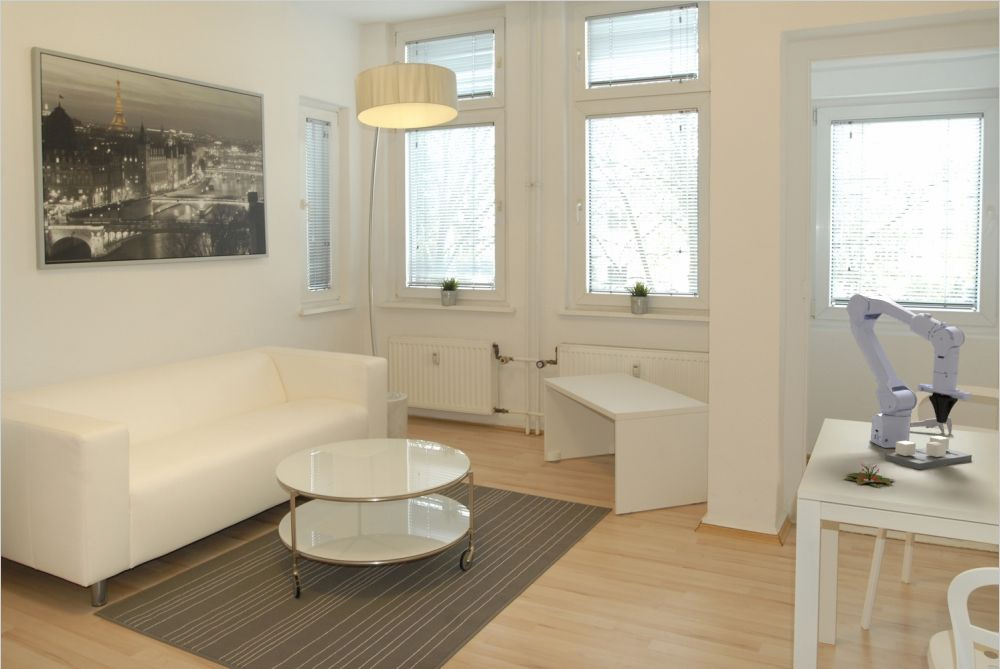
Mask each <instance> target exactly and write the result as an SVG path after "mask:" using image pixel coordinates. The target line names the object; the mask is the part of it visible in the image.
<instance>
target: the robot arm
mask: <svg viewBox="0 0 1000 669" xmlns="http://www.w3.org/2000/svg"><path fill="white" fill-rule="evenodd" d="M845 309H846V311H847V314H848V316H849V325H850V331H851V333H852V336H853V337H854V339H855V341H856V343H857V345H858V347H859V350H860V351H861V353H862V355H863V357H864V359H865V361H866V363H867V365H868V367H869V370H870V371H871V373H872V375H873V377H874V379H875V381H876V383H877V387H876V389H875V395H876V396H877V404H878V407H879V409H880V410H881V413H876V414H874V415H873V416H872V420H871V428H870V429H871V431H870V439H869V440H868V441H869V442H871V443H873V444H875V445H877V446H879V447H881V448H884V449H885V448H886V449H887V448H888V449H891V448H895V449H896V442H899V441H909V442H910V433H911V427H910V422H912V421H911V420H912V419H911V418H912V411H913V409H915V408H916V406H917V405H918V397H917V394H916V393H915V392H914V390H912V389H911V388H909V385H908V384H907V382H906V381H904V380H903V379H901V378H900V377H898V375H897V373H896V370H895V369H894V367H893V366H892V363H891V361H890V359H889V357H888V356H887V353H886V352H885V350H884V348H883V345H882V344H881V342H880V340H879V338H878V336H877V334H876V332H875V330H874V327H875V323H877V321H878V320H879V318H880V317H881V316H882V315H883V314H885V315H887V316H889V317H892V318H894V319H895V320H898V321H899V322H902V323H904V324H906V325H908V326H909V330H910V331H911V332H912V333H914V334H916V335H918V336H919V337H921V338H924V339H925V340H927V341H928V342H931V345H932V346H933V347H934V348H933V349H934V351H933V352H934V359H933V372H932V382H931V384H927V383H918V384H917V391H918V392H925V393H929V394H931V395H929V396H928V400H929V401H930V403H931V405H932V407H933V410H934V415H935V418H936V420H937V422H939V423H946V421H947V418H948V417H950V416H949V415H950V414H951V410H952V409H953V408H954V406H955V404H956V403H957V402H958V400H962V401H965V402H969V401H972V393H971V392H967V391H964V390H961V389H959V388H958V386H957V385H958V371H959V362H960V361H959V358H960V349H961V348H960V347H961V346H963V345H964V343H965V341H966V336H965V333H964V331H963V330H962V329H961V328H959V327H958V326H955V325H951V326H948V323H947V322H946V321H940V320H938V319H935V318H933V317H932V316H933V315H932V313H929V312H927V313H926V312H925V313H923V312H921V313H918V314H916V313H914V312H913V311H911V310H909V309H908V308H906V307H904V306H903V305H901V304H899V303H897V302H895V301H893V300H892V299H890V297H889V296H886V295H883V294H881V293H880V292H879V293H878V292H874V293H863V294H862V293H856V294H853V295H852V296H851V297H850V298H849V300H848V303H847V305H846V308H845ZM916 447H917V446H916V445H915V448H916Z"/></svg>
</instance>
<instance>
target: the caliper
mask: <svg viewBox="0 0 1000 669" xmlns="http://www.w3.org/2000/svg"><path fill="white" fill-rule="evenodd" d="M944 425H946V427H947V431H948V434H949V435H950V434H952V431H953V430H952V429H953V423H952V417H950V416H948V418H947V421H946V423H939V422H937V420H936V417H932V418H925V419H924V420H917V421H911V422H910V428H917V427H925V428H926V429H929V428H930V429H933V428H936V427H938V428H939V430H940V432H941V433H942V435H945V427H944Z"/></svg>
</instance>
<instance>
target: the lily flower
mask: <svg viewBox="0 0 1000 669" xmlns="http://www.w3.org/2000/svg"><path fill="white" fill-rule="evenodd" d="M860 463H861V464H860V466H862V469H861V471H859V472H852V473H848V474H845V475H847V476H846V477H844V480H847V481H854V482H856V483H857V486H859V485H863V484H867V485H871V486H873V487H876V488H878V489H880V488H881V487H882V485H883V484H882V483H884V484H886V485H889V486H891V487H894V485H893V484H892V483H891V482H894V481H895V479H892V478H890V477H883V475H880V474H877V473H879V472H880V470H881V469H879V468H878V469H876V471H875V472H874V470H875V468H877V466H878V464H875V465H874V463H872V465H871V468H868V466H869V463H867V465H868V466H867V465H865V463H864V462H860ZM873 465H874V466H873ZM863 467H864V468H865V469H864V468H863ZM867 480H868V481H867ZM871 482H873V483H875V484H872V483H871Z"/></svg>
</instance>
